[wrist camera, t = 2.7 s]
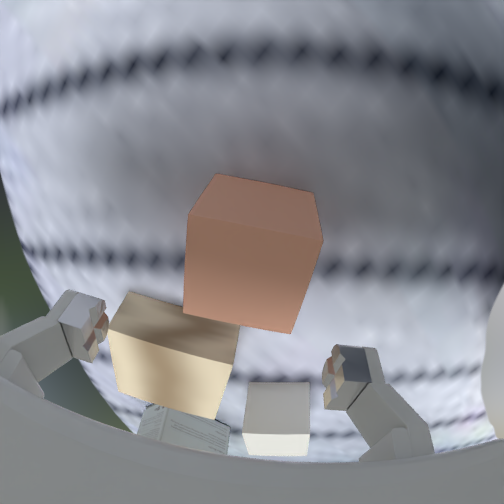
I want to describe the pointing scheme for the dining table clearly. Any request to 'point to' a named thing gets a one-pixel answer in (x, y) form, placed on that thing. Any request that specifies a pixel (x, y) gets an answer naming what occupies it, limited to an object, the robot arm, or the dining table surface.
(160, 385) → the beech base
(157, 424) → the skincare box
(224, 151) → the dining table surface
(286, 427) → the offwhite cube
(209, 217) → the terracotta cube
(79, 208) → the dining table surface
